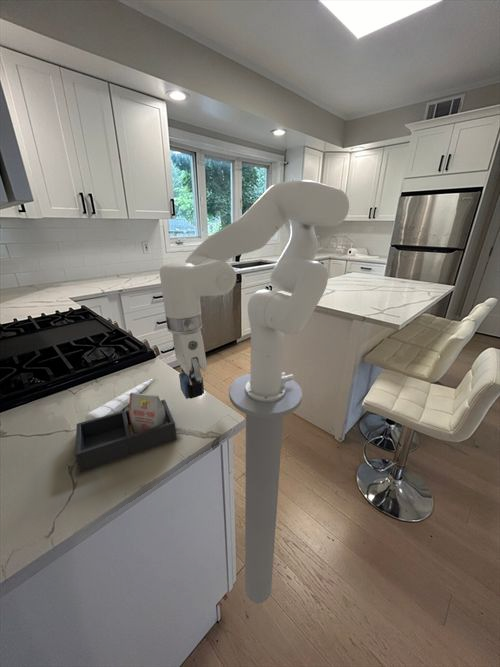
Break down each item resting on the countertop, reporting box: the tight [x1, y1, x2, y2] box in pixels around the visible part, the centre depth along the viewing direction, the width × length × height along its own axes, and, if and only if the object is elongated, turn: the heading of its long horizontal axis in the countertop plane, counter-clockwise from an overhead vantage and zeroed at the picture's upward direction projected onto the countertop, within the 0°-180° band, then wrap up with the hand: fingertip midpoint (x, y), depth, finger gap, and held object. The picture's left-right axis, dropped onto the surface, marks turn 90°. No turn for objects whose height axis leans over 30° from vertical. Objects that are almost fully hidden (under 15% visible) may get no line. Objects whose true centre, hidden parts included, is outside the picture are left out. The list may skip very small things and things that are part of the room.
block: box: [178, 372, 205, 400], centre depth 67 cm, size 4×4×4 cm
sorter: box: [74, 399, 178, 473], centre depth 63 cm, size 19×10×5 cm, turn 119°
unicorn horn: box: [84, 378, 153, 422], centre depth 75 cm, size 5×24×5 cm, turn 160°
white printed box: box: [128, 392, 166, 433], centre depth 64 cm, size 4×7×10 cm, turn 79°
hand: (192, 390), depth 68 cm, fingers closed on block, 4 cm apart
